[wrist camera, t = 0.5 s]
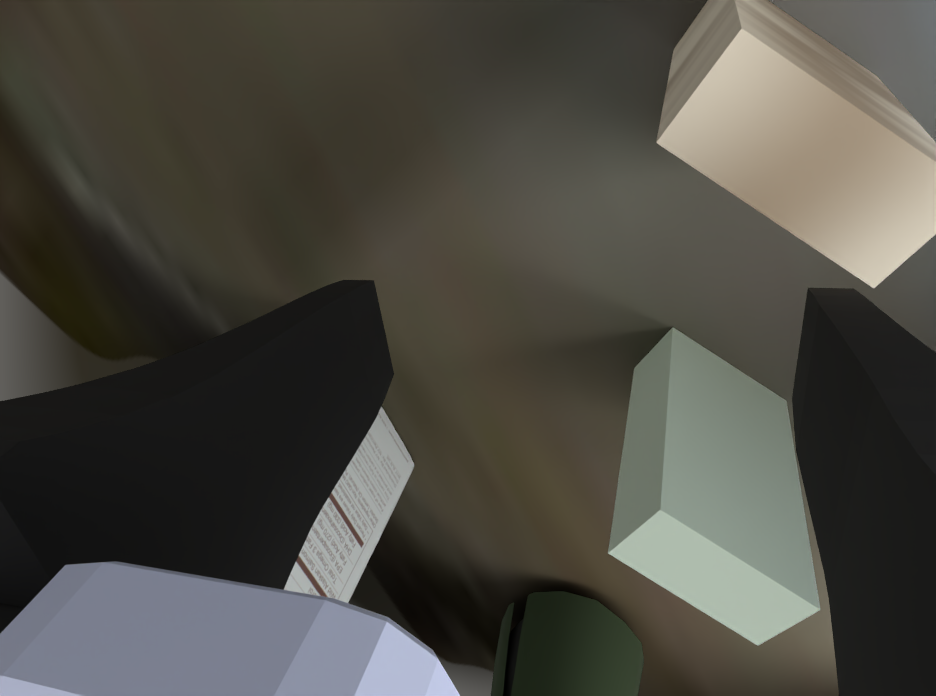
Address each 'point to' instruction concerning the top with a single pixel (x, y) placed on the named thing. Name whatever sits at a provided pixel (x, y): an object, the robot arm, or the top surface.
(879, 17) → the top surface
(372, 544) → the supplement box
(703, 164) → the domino
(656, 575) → the end domino
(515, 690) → the character mug
